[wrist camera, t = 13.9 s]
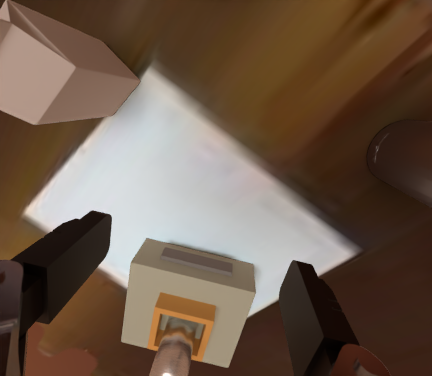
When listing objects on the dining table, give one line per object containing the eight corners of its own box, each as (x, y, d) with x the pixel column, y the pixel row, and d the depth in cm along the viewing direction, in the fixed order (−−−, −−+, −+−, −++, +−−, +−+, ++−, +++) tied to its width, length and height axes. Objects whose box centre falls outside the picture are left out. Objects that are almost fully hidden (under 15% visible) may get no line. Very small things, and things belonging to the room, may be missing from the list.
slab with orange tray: (254, 260, 43) (259, 304, 34) (229, 333, 50) (227, 386, 41) (147, 234, 43) (122, 271, 34) (136, 310, 50) (113, 358, 41)
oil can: (171, 304, 39) (150, 367, 30) (201, 312, 39) (188, 378, 30) (164, 334, 42) (142, 401, 33) (192, 342, 42) (178, 411, 33)
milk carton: (141, 81, 35) (40, 59, 17) (112, 116, 37) (-5, 130, 19) (103, 41, 33) (-51, -28, 16) (75, 80, 35) (-89, 58, 18)
